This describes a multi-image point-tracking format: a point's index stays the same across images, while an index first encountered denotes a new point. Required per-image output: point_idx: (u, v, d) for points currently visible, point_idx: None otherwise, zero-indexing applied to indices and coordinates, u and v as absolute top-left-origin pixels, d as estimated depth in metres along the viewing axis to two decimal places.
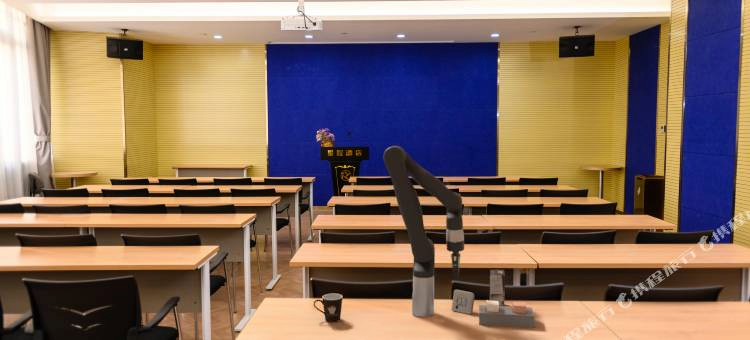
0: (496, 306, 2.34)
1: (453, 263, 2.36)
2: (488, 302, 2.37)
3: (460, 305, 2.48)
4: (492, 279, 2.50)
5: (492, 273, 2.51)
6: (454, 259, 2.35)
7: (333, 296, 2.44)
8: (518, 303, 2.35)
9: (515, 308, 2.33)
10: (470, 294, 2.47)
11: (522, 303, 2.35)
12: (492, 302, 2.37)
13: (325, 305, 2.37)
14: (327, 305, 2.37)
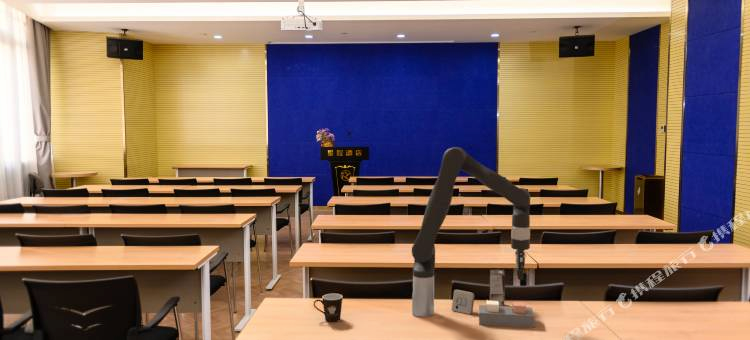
0: (496, 306, 2.34)
1: (519, 264, 2.27)
2: (488, 302, 2.37)
3: (460, 305, 2.48)
4: (492, 279, 2.50)
5: (492, 273, 2.51)
6: (520, 261, 2.27)
7: (333, 296, 2.44)
8: (518, 303, 2.35)
9: (515, 308, 2.33)
10: (470, 294, 2.47)
11: (522, 303, 2.35)
12: (492, 302, 2.37)
13: (325, 305, 2.37)
14: (327, 305, 2.37)
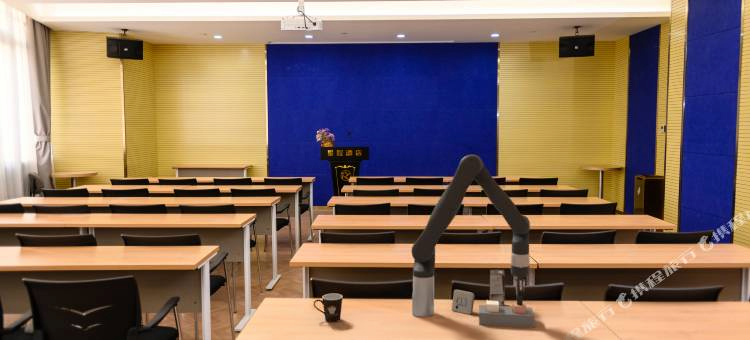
0: (496, 306, 2.34)
1: (518, 292, 2.30)
2: (488, 302, 2.37)
3: (460, 305, 2.48)
4: (492, 279, 2.50)
5: (492, 273, 2.51)
6: (520, 290, 2.29)
7: (333, 296, 2.44)
8: None
9: (515, 309, 2.33)
10: (470, 294, 2.47)
11: (522, 304, 2.35)
12: (492, 302, 2.37)
13: (325, 305, 2.37)
14: (327, 305, 2.37)
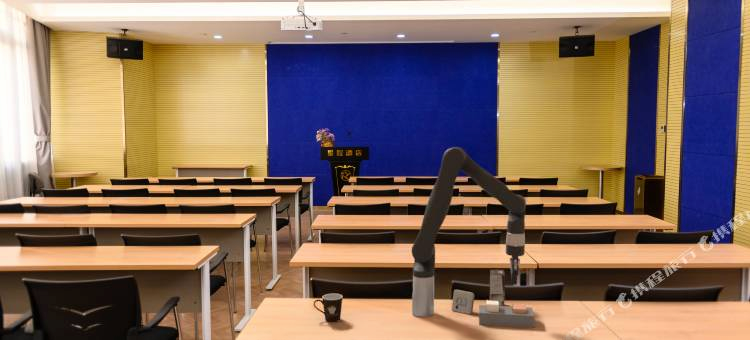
0: (496, 306, 2.34)
1: (513, 271, 2.29)
2: (488, 302, 2.37)
3: (460, 305, 2.48)
4: (492, 279, 2.50)
5: (492, 273, 2.51)
6: (514, 269, 2.28)
7: (333, 296, 2.44)
8: (518, 306, 2.35)
9: (515, 311, 2.33)
10: (470, 294, 2.47)
11: (521, 306, 2.35)
12: (492, 302, 2.37)
13: (325, 305, 2.37)
14: (327, 305, 2.37)
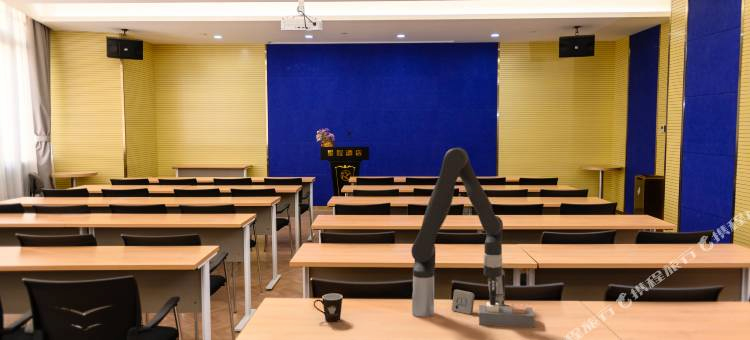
0: (496, 307, 2.34)
1: (491, 292, 2.32)
2: (488, 304, 2.37)
3: (460, 305, 2.48)
4: None
5: None
6: (492, 290, 2.31)
7: (333, 296, 2.44)
8: (518, 306, 2.35)
9: (515, 311, 2.33)
10: (470, 294, 2.47)
11: (521, 306, 2.35)
12: None
13: (325, 305, 2.37)
14: (327, 305, 2.37)
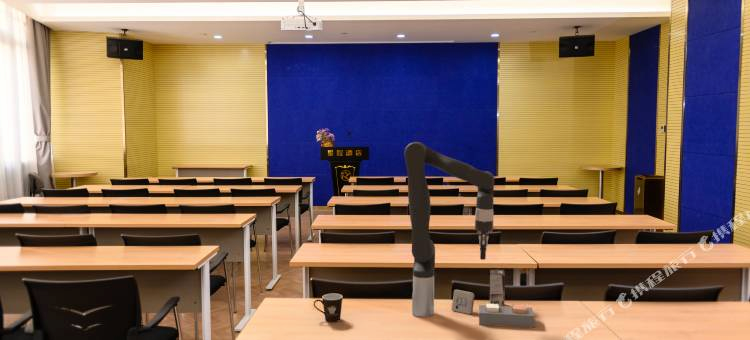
0: (496, 309, 2.34)
1: (481, 246, 2.34)
2: (488, 305, 2.37)
3: (460, 305, 2.48)
4: (492, 279, 2.50)
5: (492, 273, 2.51)
6: (482, 244, 2.33)
7: (333, 296, 2.44)
8: (518, 306, 2.35)
9: (515, 311, 2.33)
10: (470, 294, 2.47)
11: (521, 306, 2.35)
12: (492, 305, 2.37)
13: (325, 305, 2.37)
14: (327, 305, 2.37)
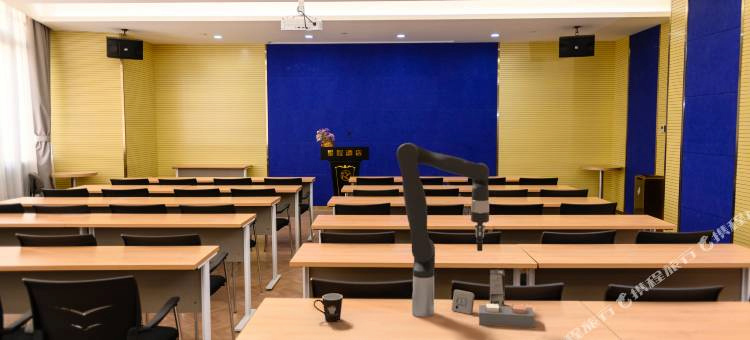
0: (496, 309, 2.34)
1: (478, 237, 2.35)
2: (488, 305, 2.37)
3: (460, 305, 2.48)
4: (492, 279, 2.50)
5: (492, 273, 2.51)
6: (479, 235, 2.34)
7: (333, 296, 2.44)
8: (518, 306, 2.35)
9: (515, 311, 2.33)
10: (470, 294, 2.47)
11: (521, 306, 2.35)
12: (492, 305, 2.37)
13: (325, 305, 2.37)
14: (327, 305, 2.37)
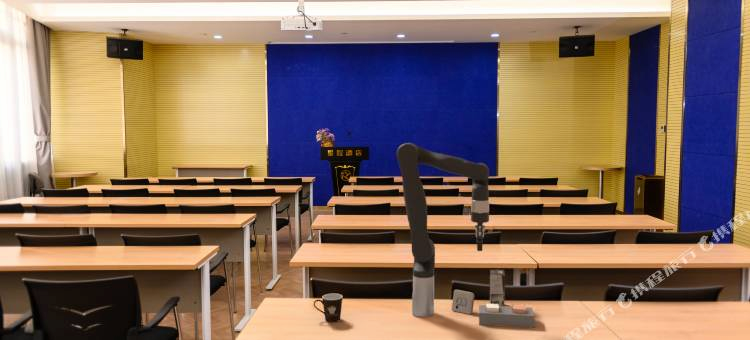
0: (496, 309, 2.34)
1: (478, 237, 2.35)
2: (488, 305, 2.37)
3: (460, 305, 2.48)
4: (492, 279, 2.50)
5: (492, 273, 2.51)
6: (479, 235, 2.34)
7: (333, 296, 2.44)
8: (518, 306, 2.35)
9: (515, 311, 2.33)
10: (470, 294, 2.47)
11: (521, 306, 2.35)
12: (492, 305, 2.37)
13: (325, 305, 2.37)
14: (327, 305, 2.37)
